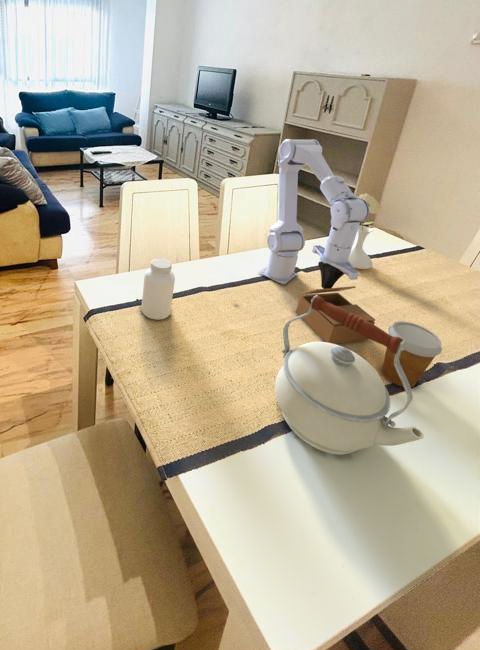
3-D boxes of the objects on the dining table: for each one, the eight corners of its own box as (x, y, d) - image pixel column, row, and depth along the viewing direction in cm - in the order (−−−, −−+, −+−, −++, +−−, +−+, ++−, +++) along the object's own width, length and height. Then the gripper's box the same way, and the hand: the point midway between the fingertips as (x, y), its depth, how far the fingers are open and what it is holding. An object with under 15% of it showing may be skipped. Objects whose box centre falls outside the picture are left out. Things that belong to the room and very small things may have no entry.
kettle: (244, 403, 78) (268, 300, 68) (293, 365, 88) (321, 272, 79) (377, 517, 59) (436, 398, 50) (420, 453, 70) (476, 344, 60)
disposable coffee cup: (414, 367, 90) (433, 326, 85) (430, 399, 81) (452, 355, 77) (368, 356, 92) (384, 315, 88) (379, 386, 84) (397, 342, 79)
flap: (301, 294, 105) (300, 292, 105) (338, 291, 107) (338, 289, 107) (316, 290, 99) (316, 289, 99) (355, 287, 101) (355, 286, 102)
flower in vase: (378, 273, 130) (403, 204, 121) (345, 271, 130) (366, 202, 120) (356, 254, 142) (377, 190, 133) (326, 252, 142) (344, 189, 133)
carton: (295, 312, 107) (300, 293, 105) (332, 308, 110) (338, 289, 107) (327, 344, 95) (334, 324, 93) (368, 339, 98) (376, 319, 96)
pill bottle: (174, 307, 106) (180, 260, 100) (164, 324, 99) (171, 274, 94) (147, 299, 109) (152, 252, 103) (136, 314, 102) (140, 266, 96)
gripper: (307, 231, 104) (296, 274, 109) (347, 258, 91) (332, 305, 96) (330, 230, 106) (318, 273, 111) (372, 256, 93) (356, 303, 98)
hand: (326, 288), depth 104 cm, fingers closed
